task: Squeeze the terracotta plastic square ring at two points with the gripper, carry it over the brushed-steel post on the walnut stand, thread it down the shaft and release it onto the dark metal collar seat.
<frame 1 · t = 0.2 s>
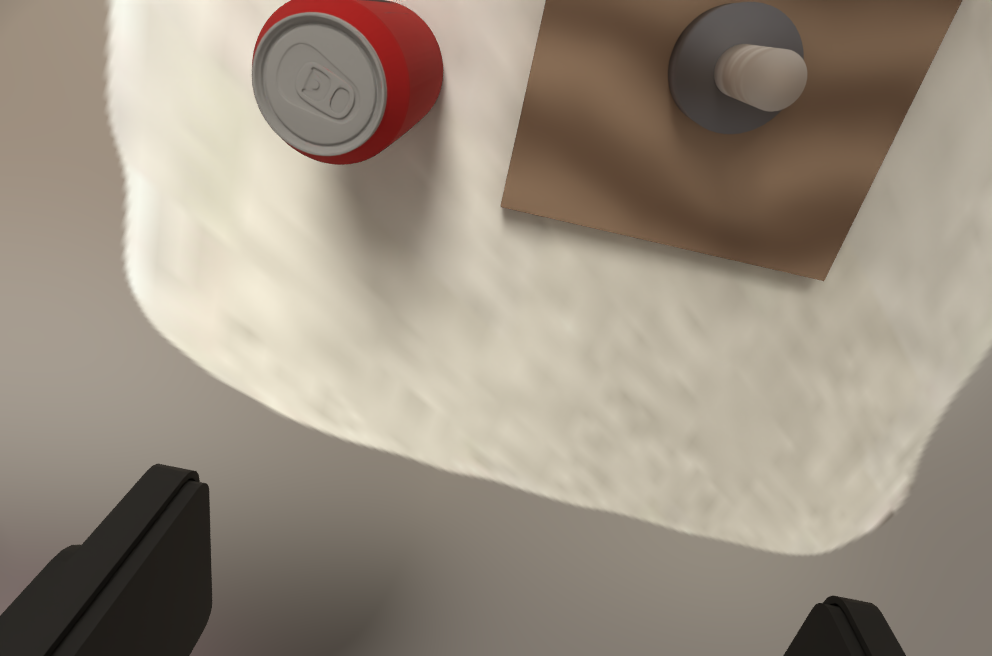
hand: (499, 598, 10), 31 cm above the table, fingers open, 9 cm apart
beverage can: (387, 66, 35), on the table
post stand: (718, 65, 34), on the table
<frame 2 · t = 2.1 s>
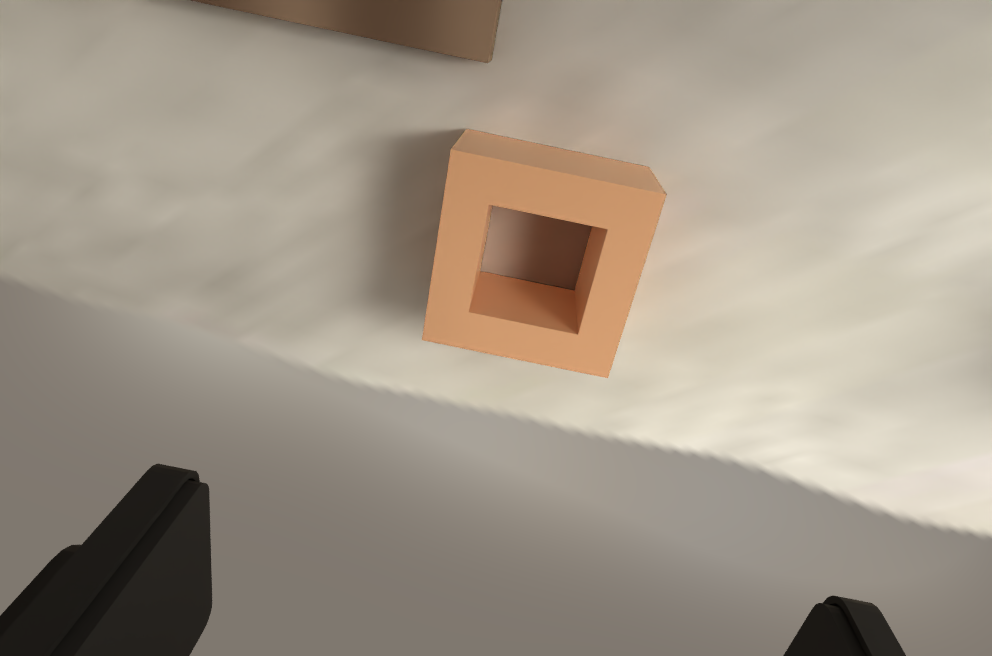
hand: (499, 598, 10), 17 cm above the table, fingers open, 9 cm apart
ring: (537, 235, 25), on the table
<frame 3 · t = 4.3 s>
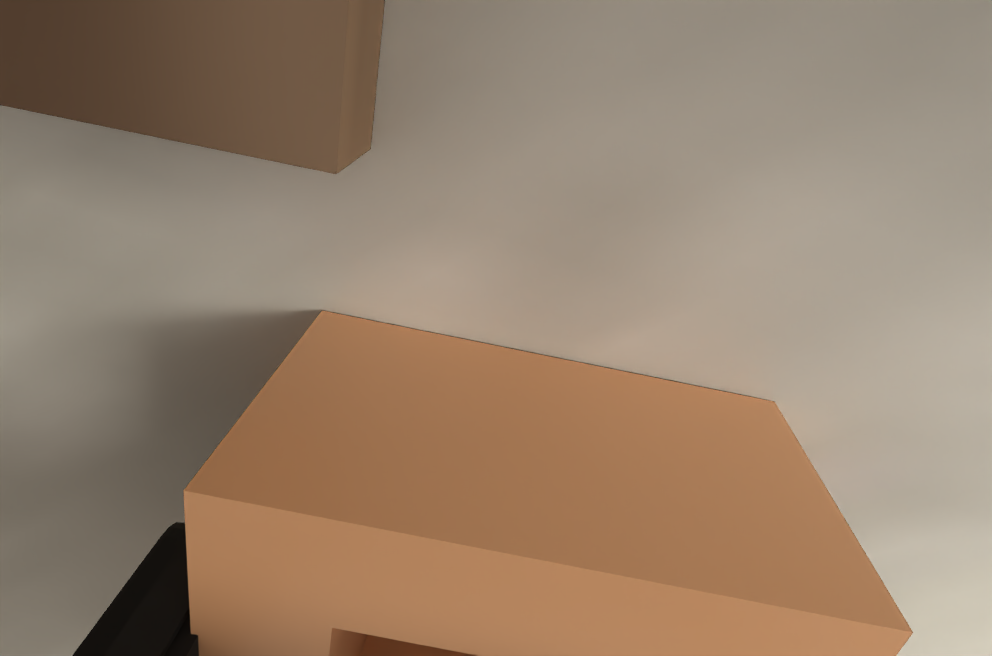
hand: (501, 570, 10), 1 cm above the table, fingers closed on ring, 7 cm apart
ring: (505, 525, 11), on the table, touching gripper
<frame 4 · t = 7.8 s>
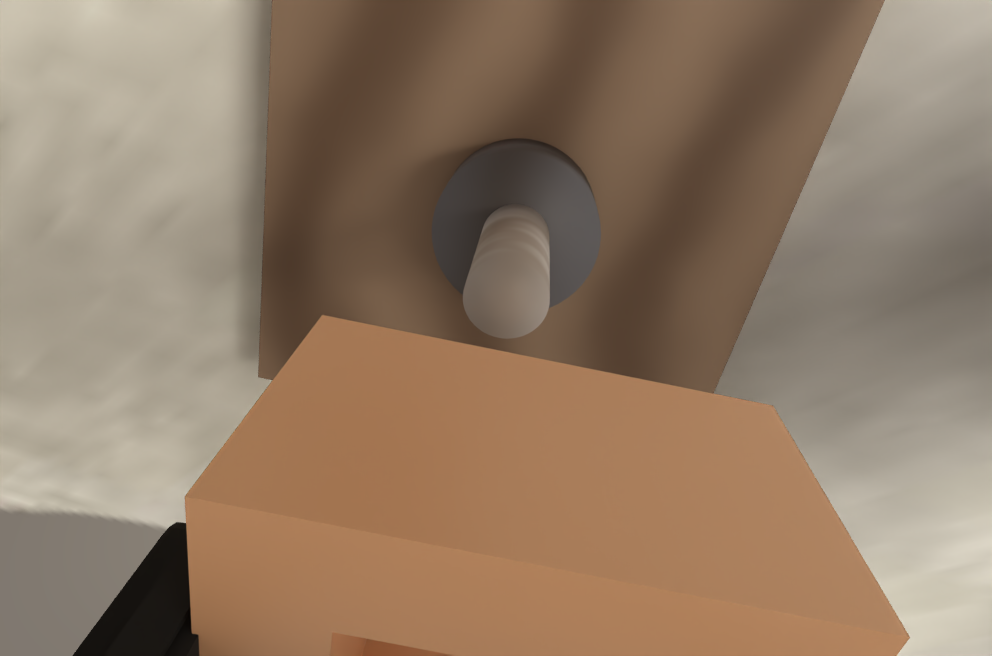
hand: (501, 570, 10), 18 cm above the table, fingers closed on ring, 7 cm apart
post stand: (520, 207, 26), on the table
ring: (505, 528, 11), point 17 cm above the table, touching gripper
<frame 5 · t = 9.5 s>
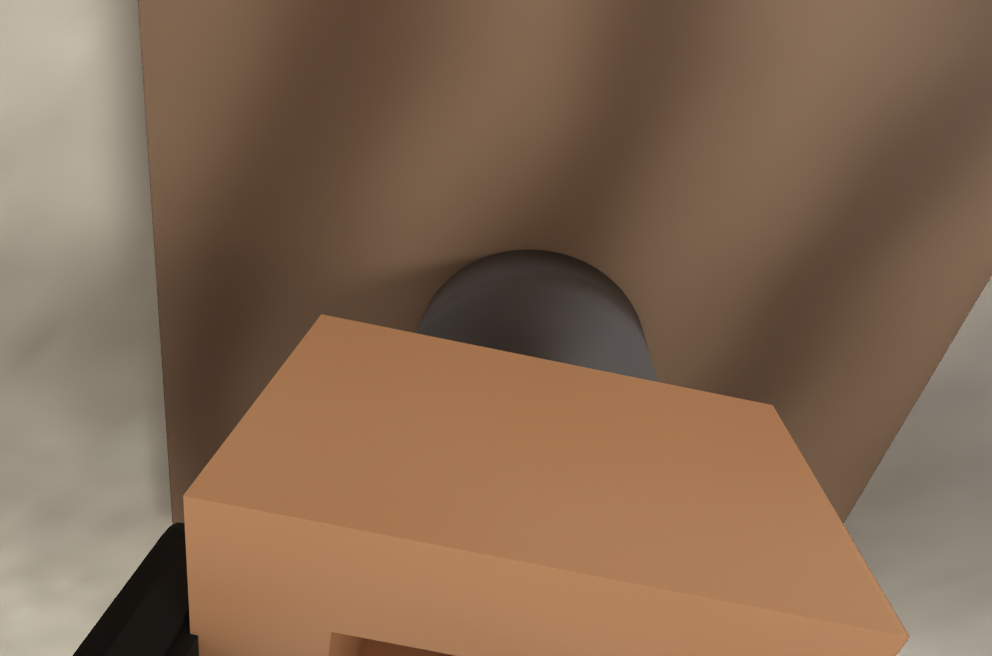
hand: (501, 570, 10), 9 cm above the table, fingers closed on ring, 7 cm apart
post stand: (531, 331, 18), on the table
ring: (504, 528, 11), point 8 cm above the table, touching gripper
when the fingers open (6 cm above the table, at t = 11.2 s): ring drops 1 cm, resting on post stand.
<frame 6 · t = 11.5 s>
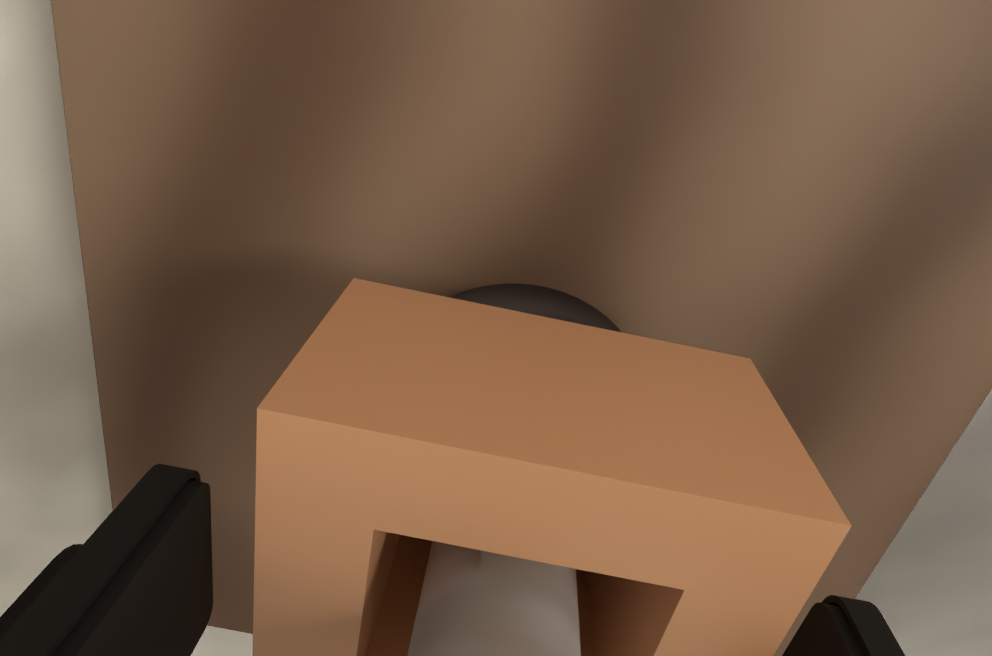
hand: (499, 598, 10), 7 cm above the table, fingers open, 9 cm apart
post stand: (517, 370, 16), on the table
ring: (513, 474, 12), point 4 cm above the table, touching post stand
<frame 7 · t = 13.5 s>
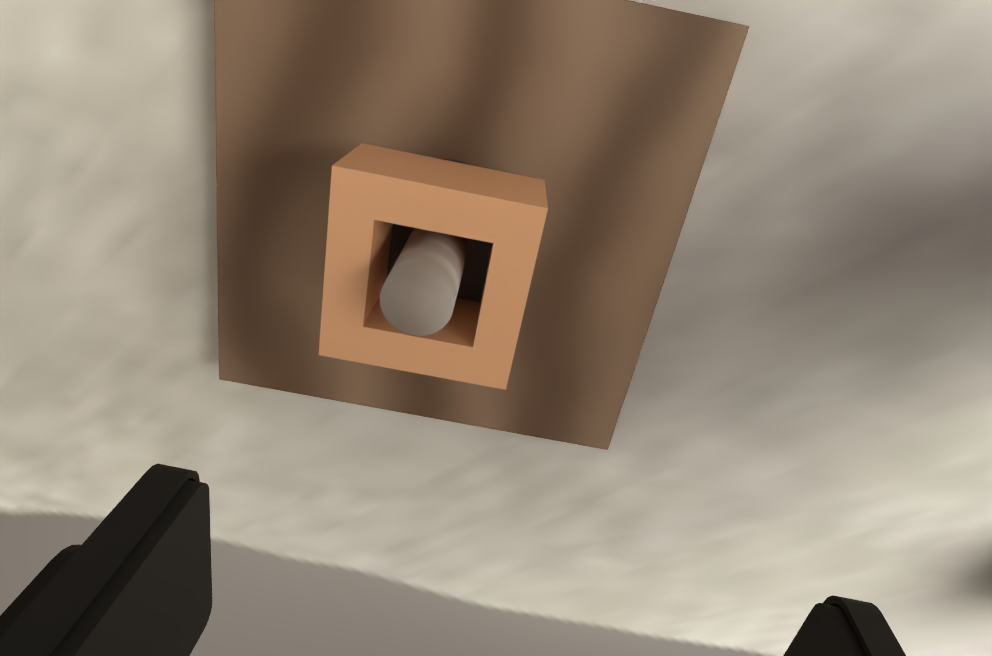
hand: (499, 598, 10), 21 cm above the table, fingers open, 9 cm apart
post stand: (449, 218, 29), on the table
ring: (440, 248, 25), point 4 cm above the table, touching post stand
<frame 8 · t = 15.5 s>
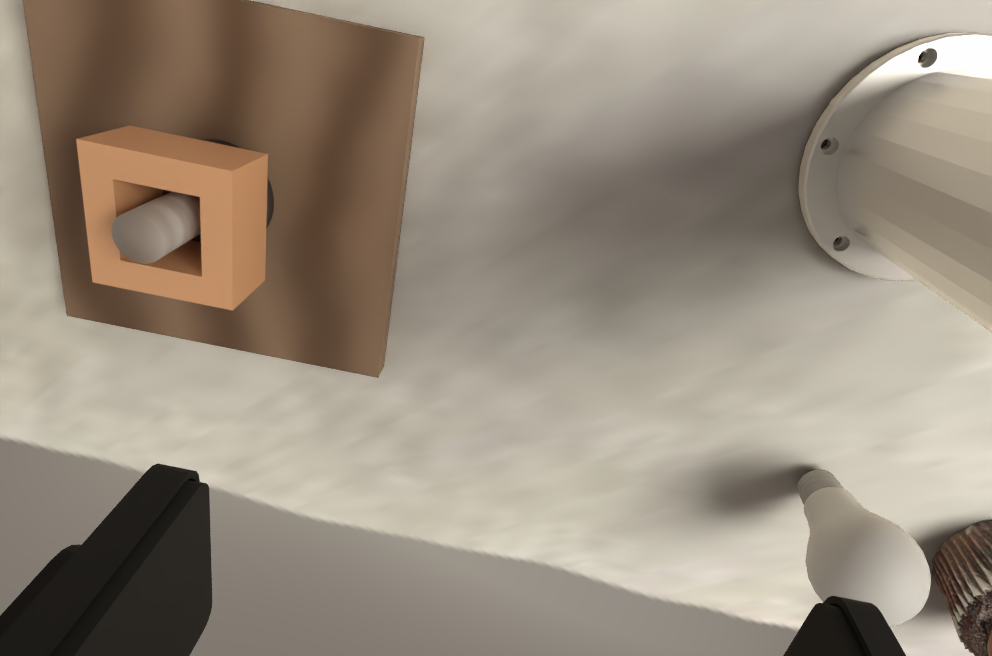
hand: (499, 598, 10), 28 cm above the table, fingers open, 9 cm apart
lightbulb: (810, 475, 43), on the table
cupcake: (989, 557, 45), on the table
post stand: (233, 187, 36), on the table
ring: (200, 206, 33), point 4 cm above the table, touching post stand
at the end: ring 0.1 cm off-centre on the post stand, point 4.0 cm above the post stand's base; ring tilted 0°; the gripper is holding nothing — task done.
